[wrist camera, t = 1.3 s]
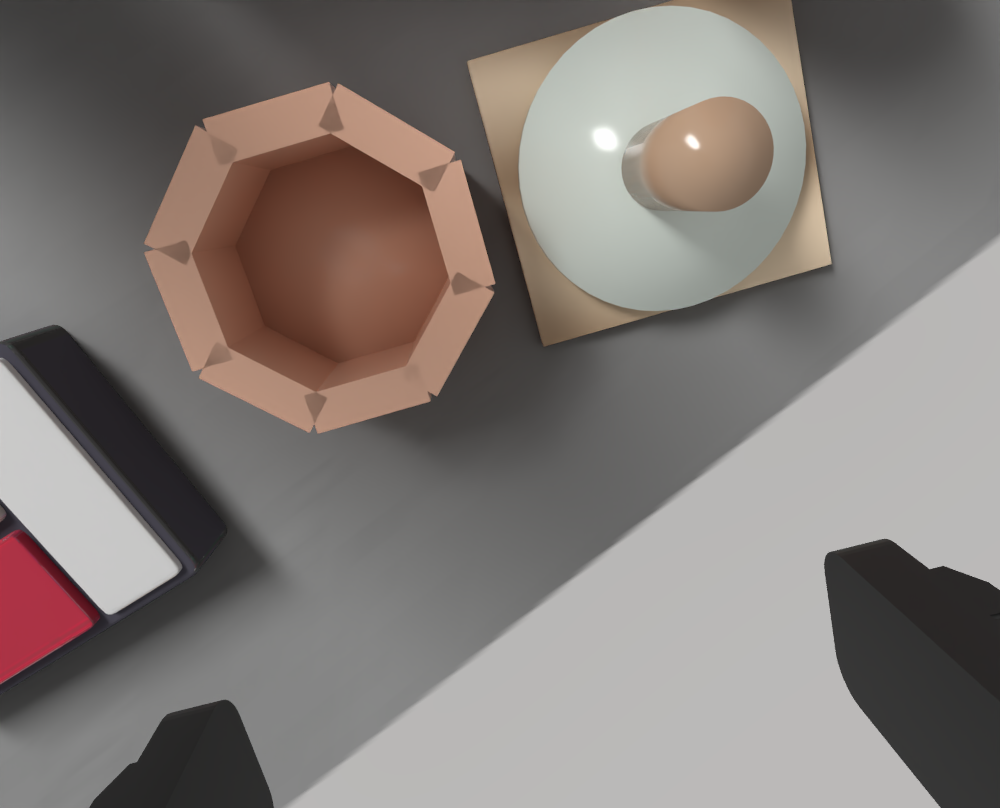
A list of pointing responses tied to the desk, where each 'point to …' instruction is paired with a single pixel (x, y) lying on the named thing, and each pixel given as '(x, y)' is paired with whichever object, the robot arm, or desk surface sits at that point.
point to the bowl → (320, 258)
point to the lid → (662, 158)
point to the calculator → (82, 506)
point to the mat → (503, 107)
